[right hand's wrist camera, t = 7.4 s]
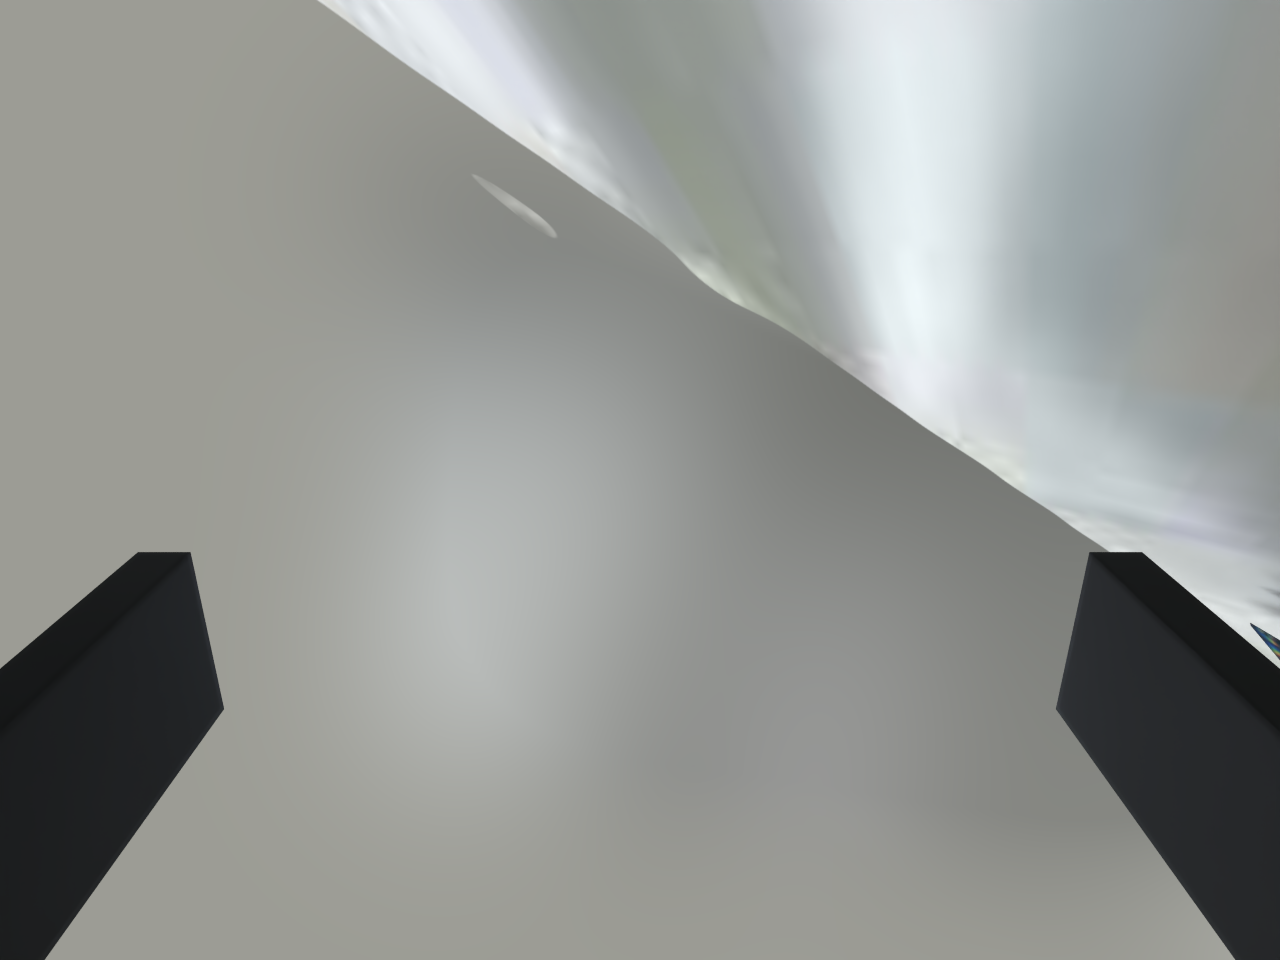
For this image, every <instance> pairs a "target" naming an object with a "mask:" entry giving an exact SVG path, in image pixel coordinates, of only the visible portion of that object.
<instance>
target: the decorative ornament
mask: <svg viewBox="0 0 1280 960" xmlns="http://www.w3.org/2000/svg"><path fill="white" fill-rule="evenodd" d="M1250 624H1251V623H1250ZM1251 626H1252V628H1253V629H1254V630H1255V631H1256V632H1257V633H1258V635H1259V636H1260V637H1261V638H1262V639H1263V641H1264V642H1265V643H1266V644H1267V645H1268V647H1269V648H1270V649H1271V650H1272V651H1273V652H1274V654H1275V655H1276V656H1277V657H1278V658H1279V660H1280V640H1278V639H1277V638H1275V637H1273V636H1272V635H1270V634H1268V633H1267V632H1265V631H1263V630H1262V629H1260V628H1258V627H1257V626H1255V625H1253V624H1251Z"/></svg>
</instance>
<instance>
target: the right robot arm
mask: <svg viewBox="0 0 1280 960" xmlns="http://www.w3.org/2000/svg"><path fill="white" fill-rule="evenodd" d="M223 710H224V706H223V702H222V697H221V693H220V688H219V683H218V678H217V674H216V669H215V664H214V660H213V655H212V650H211V646H210V641H209V636H208V632H207V627H206V622H205V618H204V613H203V609H202V604H201V599H200V595H199V590H198V585H197V581H196V576H195V571H194V566H193V562H192V557H191V553H190V552H138V553H137V554H135V555H134V556H133V557H132V558H131V559H129V560H128V561H127V562H126V563H125V564H124V565H122V566H121V567H120V568H119V569H118V570H116V571H115V572H114V573H113V574H112V575H111V576H109V577H108V578H107V579H106V580H105V581H103V582H102V583H101V584H100V585H99V586H98V587H96V588H95V589H94V590H93V591H92V592H90V593H89V594H88V595H87V596H86V597H85V598H83V599H82V600H81V601H80V602H79V603H77V604H76V605H75V606H74V607H73V608H72V609H70V610H69V611H68V612H67V613H66V614H64V615H63V616H62V617H61V618H60V619H58V620H57V621H56V622H55V623H54V624H53V625H51V626H50V627H49V628H48V629H47V630H45V631H44V632H43V633H42V634H41V635H40V636H38V637H37V638H36V639H35V640H34V641H33V642H31V643H30V644H29V645H28V646H27V647H25V648H24V649H23V650H22V651H21V652H19V653H18V654H17V655H16V656H15V657H14V658H12V659H11V660H10V661H9V662H8V663H7V664H5V665H4V666H3V667H2V668H1V669H0V960H45V958H46V957H47V956H48V954H49V953H50V951H51V950H52V949H53V947H54V946H55V944H56V943H57V942H58V940H59V939H60V937H61V936H62V935H63V933H64V932H65V930H66V929H67V928H68V926H69V925H70V924H71V922H72V921H73V919H74V918H75V917H76V915H77V914H78V912H79V911H80V909H81V908H82V907H83V905H84V904H85V903H86V901H87V900H88V898H89V897H90V896H91V894H92V893H93V891H94V890H95V889H96V887H97V886H98V884H99V883H100V881H101V880H102V879H103V877H104V876H105V875H106V873H107V872H108V870H109V869H110V868H111V866H112V865H113V863H114V862H115V861H116V859H117V858H118V856H119V855H120V854H121V852H122V851H123V849H124V848H125V847H126V845H127V844H128V842H129V841H130V840H131V838H132V837H133V835H134V834H135V833H136V831H137V830H138V828H139V827H140V826H141V824H142V823H143V821H144V820H145V819H146V817H147V816H148V815H149V813H150V812H151V810H152V809H153V808H154V806H155V805H156V803H157V802H158V800H159V799H160V798H161V796H162V795H163V794H164V792H165V791H166V789H167V788H168V787H169V785H170V784H171V782H172V781H173V780H174V778H175V777H176V775H177V774H178V773H179V771H180V770H181V768H182V767H183V766H184V764H185V763H186V761H187V760H188V759H189V757H190V756H191V754H192V753H193V752H194V750H195V749H196V747H197V746H198V745H199V743H200V742H201V740H202V739H203V738H204V736H205V735H206V733H207V732H208V731H209V729H210V728H211V726H212V725H213V724H214V722H215V721H216V719H217V718H218V717H219V715H220V714H221V713H222V711H223ZM1056 710H1057V711H1058V713H1059V714H1060V715H1061V717H1062V718H1063V719H1064V721H1065V722H1066V724H1067V725H1068V726H1069V728H1070V729H1071V731H1072V732H1073V733H1074V735H1075V736H1076V738H1077V739H1078V740H1079V742H1080V743H1081V745H1082V746H1083V747H1084V749H1085V750H1086V752H1087V753H1088V754H1089V756H1090V757H1091V759H1092V760H1093V761H1094V763H1095V764H1096V766H1097V767H1098V768H1099V770H1100V771H1101V773H1102V774H1103V775H1104V777H1105V778H1106V779H1107V781H1108V782H1109V784H1110V785H1111V787H1112V788H1113V789H1114V791H1115V792H1116V794H1117V795H1118V796H1119V798H1120V799H1121V801H1122V802H1123V803H1124V805H1125V806H1126V807H1127V809H1128V810H1129V812H1130V813H1131V814H1132V816H1133V817H1134V819H1135V820H1136V822H1137V823H1138V824H1139V826H1140V827H1141V828H1142V830H1143V831H1144V833H1145V834H1146V835H1147V837H1148V838H1149V840H1150V841H1151V842H1152V844H1153V845H1154V847H1155V848H1156V849H1157V851H1158V852H1159V854H1160V855H1161V856H1162V858H1163V859H1164V861H1165V862H1166V863H1167V865H1168V866H1169V868H1170V869H1171V870H1172V872H1173V873H1174V875H1175V876H1176V877H1177V879H1178V880H1179V882H1180V883H1181V884H1182V886H1183V887H1184V889H1185V890H1186V891H1187V893H1188V894H1189V896H1190V897H1191V898H1192V900H1193V901H1194V903H1195V904H1196V905H1197V907H1198V908H1199V910H1200V911H1201V912H1202V914H1203V915H1204V916H1205V918H1206V919H1207V921H1208V922H1209V924H1210V925H1211V926H1212V928H1213V929H1214V931H1215V932H1216V933H1217V935H1218V936H1219V938H1220V939H1221V940H1222V942H1223V943H1224V944H1225V946H1226V947H1227V949H1228V950H1229V951H1230V953H1231V954H1232V956H1233V957H1234V958H1235V960H1280V669H1279V668H1278V667H1277V666H1276V665H1275V664H1274V663H1272V662H1271V661H1270V660H1269V659H1268V658H1266V657H1265V656H1264V655H1263V654H1262V653H1261V652H1259V651H1258V650H1257V649H1256V648H1255V647H1253V646H1252V645H1251V644H1250V643H1249V642H1248V641H1246V640H1245V639H1244V638H1243V637H1242V636H1240V635H1239V634H1238V633H1237V632H1236V631H1235V630H1233V629H1232V628H1231V627H1230V626H1229V625H1227V624H1226V623H1225V622H1224V621H1223V620H1222V619H1220V618H1219V617H1218V616H1217V615H1216V614H1214V613H1213V612H1212V611H1211V610H1210V609H1208V608H1207V607H1206V606H1205V605H1204V604H1203V603H1201V602H1200V601H1199V600H1198V599H1197V598H1195V597H1194V596H1193V595H1192V594H1191V593H1190V592H1188V591H1187V590H1186V589H1185V588H1184V587H1182V586H1181V585H1180V584H1179V583H1178V582H1177V581H1175V580H1174V579H1173V578H1172V577H1171V576H1169V575H1168V574H1167V573H1166V572H1165V571H1164V570H1162V569H1161V568H1160V567H1159V566H1158V565H1156V564H1155V563H1154V562H1153V561H1152V560H1151V559H1149V558H1148V557H1147V556H1146V555H1145V554H1143V553H1142V552H1090V553H1089V557H1088V562H1087V566H1086V571H1085V576H1084V580H1083V585H1082V590H1081V594H1080V599H1079V604H1078V608H1077V613H1076V618H1075V622H1074V627H1073V632H1072V636H1071V641H1070V646H1069V650H1068V655H1067V660H1066V664H1065V669H1064V674H1063V679H1062V683H1061V688H1060V692H1059V697H1058V702H1057V706H1056Z"/></svg>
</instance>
